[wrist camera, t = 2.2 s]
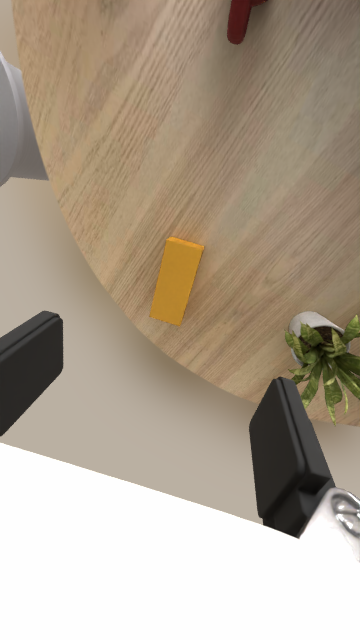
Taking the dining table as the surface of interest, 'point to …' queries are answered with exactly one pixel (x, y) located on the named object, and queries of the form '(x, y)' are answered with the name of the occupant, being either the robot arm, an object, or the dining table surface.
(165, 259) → the block
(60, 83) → the dining table surface
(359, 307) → the dining table surface
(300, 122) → the dining table surface
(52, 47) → the dining table surface
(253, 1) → the mug
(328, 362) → the house plant
